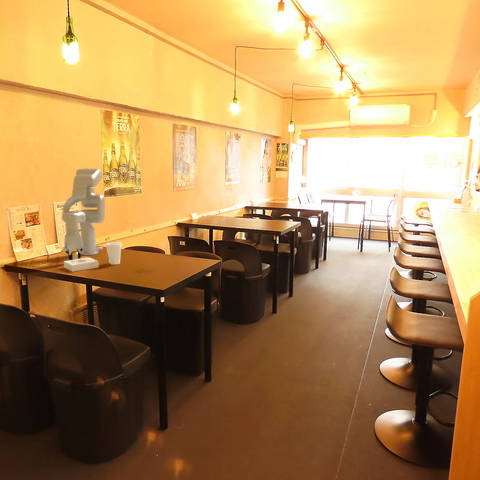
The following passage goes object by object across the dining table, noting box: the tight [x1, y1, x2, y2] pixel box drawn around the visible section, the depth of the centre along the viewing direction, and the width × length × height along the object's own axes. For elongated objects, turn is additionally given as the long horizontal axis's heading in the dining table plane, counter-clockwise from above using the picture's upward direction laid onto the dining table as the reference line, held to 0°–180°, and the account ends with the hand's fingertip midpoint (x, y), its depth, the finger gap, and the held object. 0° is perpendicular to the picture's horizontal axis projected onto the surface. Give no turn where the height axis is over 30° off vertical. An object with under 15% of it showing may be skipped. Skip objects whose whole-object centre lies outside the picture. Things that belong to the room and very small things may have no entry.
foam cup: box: [105, 241, 122, 265], centre depth 260 cm, size 10×9×13 cm
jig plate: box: [63, 256, 100, 272], centre depth 251 cm, size 16×14×4 cm
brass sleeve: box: [71, 250, 78, 260], centre depth 263 cm, size 4×4×7 cm
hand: (74, 259), depth 264 cm, fingers closed on brass sleeve, 4 cm apart
